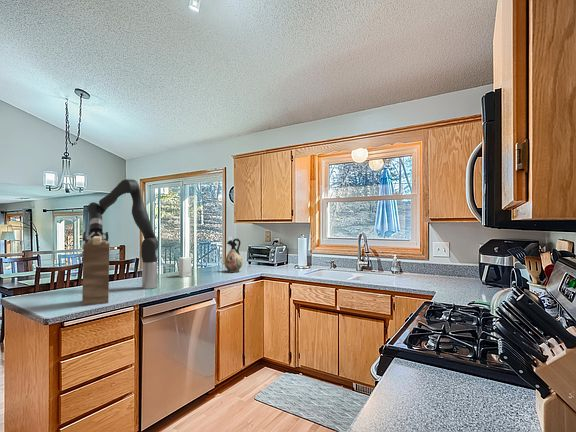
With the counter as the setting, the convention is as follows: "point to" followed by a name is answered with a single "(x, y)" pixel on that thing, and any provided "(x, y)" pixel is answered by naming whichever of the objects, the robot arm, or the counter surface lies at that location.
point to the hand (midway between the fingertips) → (95, 245)
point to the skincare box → (184, 266)
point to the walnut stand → (95, 273)
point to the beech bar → (96, 240)
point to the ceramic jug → (233, 257)
